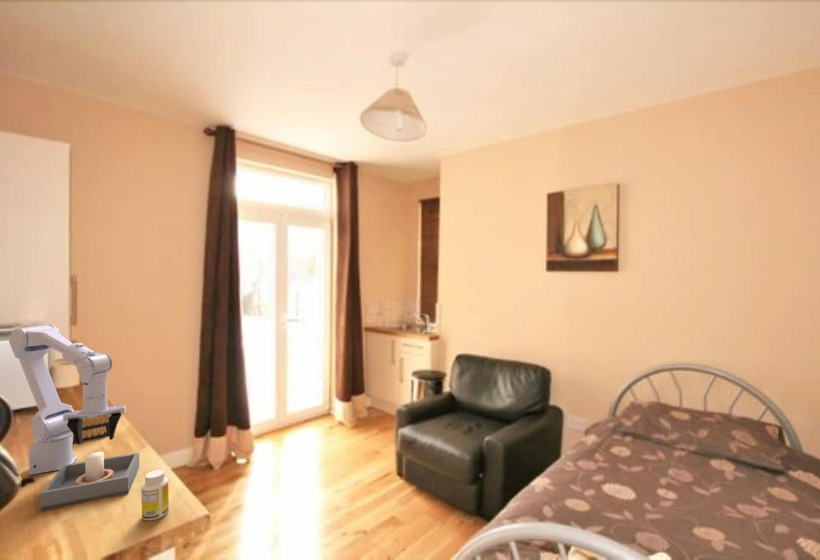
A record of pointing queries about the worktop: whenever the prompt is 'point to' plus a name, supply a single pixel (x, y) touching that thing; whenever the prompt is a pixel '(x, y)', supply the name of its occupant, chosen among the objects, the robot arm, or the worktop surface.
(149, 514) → the supplement bottle
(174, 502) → the worktop surface
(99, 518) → the worktop surface
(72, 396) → the worktop surface
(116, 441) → the worktop surface
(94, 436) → the ammunition clip
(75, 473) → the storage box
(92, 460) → the peg
